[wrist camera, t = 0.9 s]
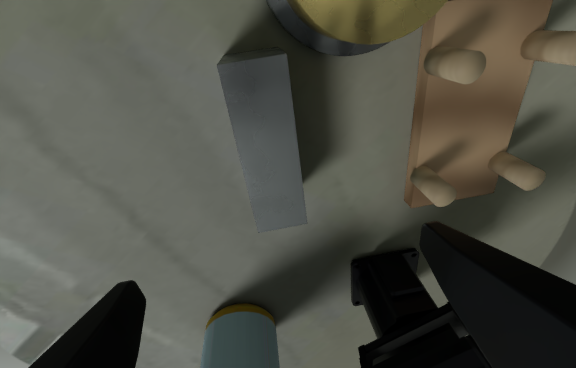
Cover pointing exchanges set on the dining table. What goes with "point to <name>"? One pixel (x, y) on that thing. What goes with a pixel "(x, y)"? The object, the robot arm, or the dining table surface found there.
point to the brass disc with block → (365, 18)
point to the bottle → (240, 339)
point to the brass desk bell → (315, 33)
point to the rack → (476, 96)
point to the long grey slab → (265, 134)
